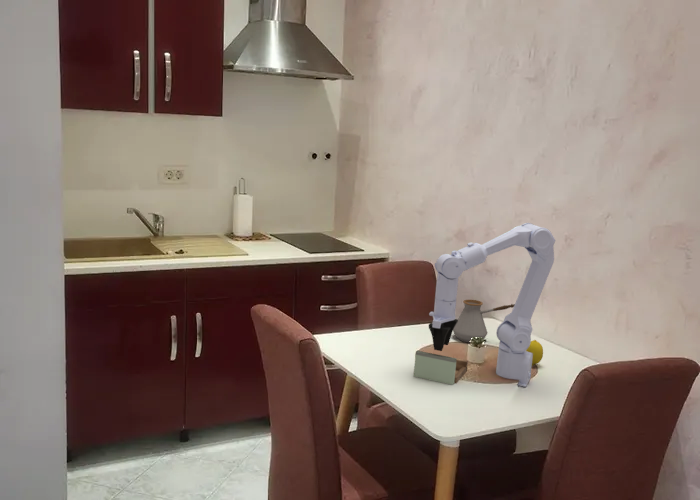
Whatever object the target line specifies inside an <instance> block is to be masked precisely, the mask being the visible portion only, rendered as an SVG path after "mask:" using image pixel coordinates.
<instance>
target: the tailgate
mask: <svg viewBox="0 0 700 500" xmlns="http://www.w3.org/2000/svg"><path fill="white" fill-rule="evenodd" d="M414 356H415V357H414V367H413V368H414V369H413V377H415V378H419V379H424V380H428V381H429V380H430V381H433V382H438V383H442V384H447V385H452V386H454V384H455V383H454V380H455V370H456V360H457V359H458V358H456V357H451V356H447V355H441V354H436V353H433V354H432V352H428V353H427V351H421V350H415V355H414Z"/></svg>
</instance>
